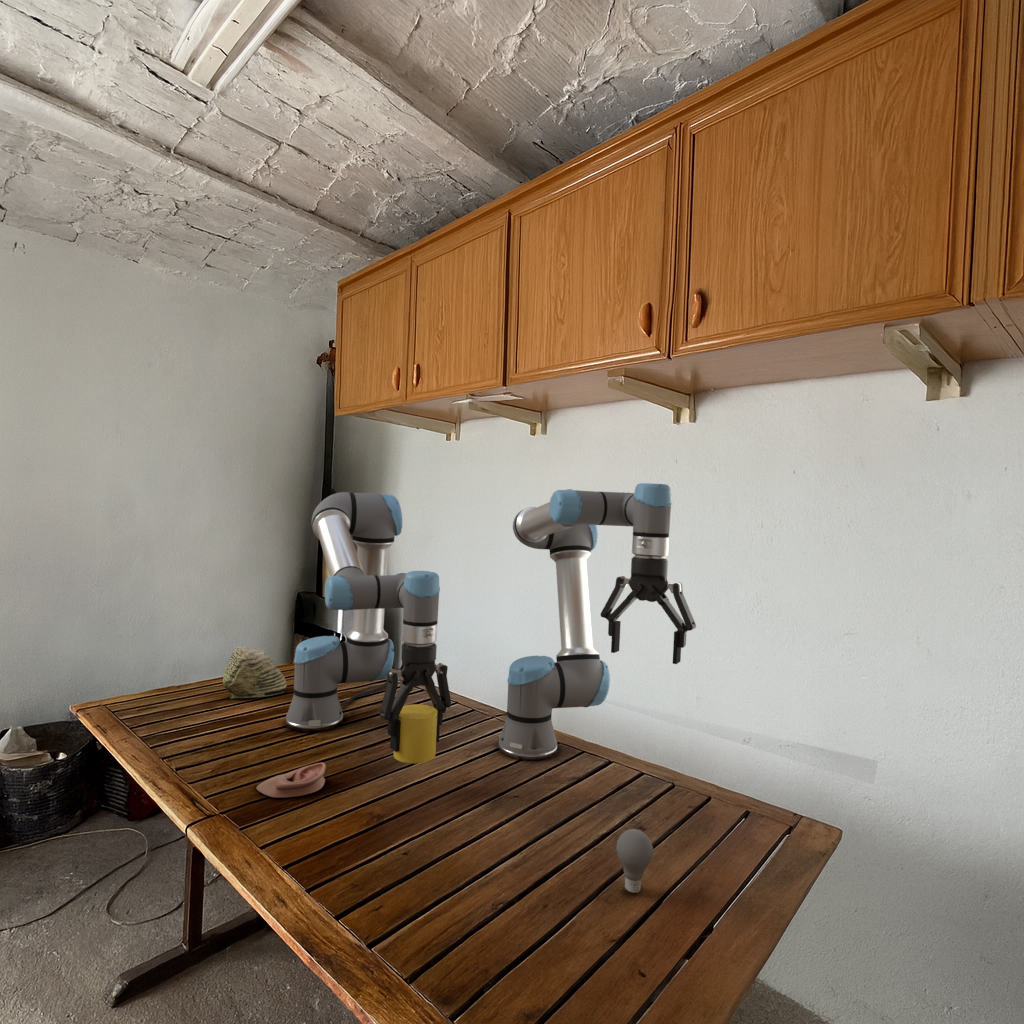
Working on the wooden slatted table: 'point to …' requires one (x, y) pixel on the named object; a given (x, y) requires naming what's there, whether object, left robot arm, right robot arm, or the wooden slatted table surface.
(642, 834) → the light bulb
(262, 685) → the fossil
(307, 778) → the anatomical model
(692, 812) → the wooden slatted table surface
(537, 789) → the wooden slatted table surface
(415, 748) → the yellow cylinder
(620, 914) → the wooden slatted table surface
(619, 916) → the wooden slatted table surface
